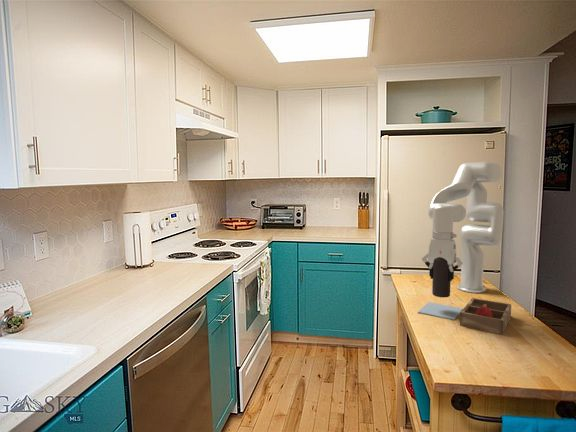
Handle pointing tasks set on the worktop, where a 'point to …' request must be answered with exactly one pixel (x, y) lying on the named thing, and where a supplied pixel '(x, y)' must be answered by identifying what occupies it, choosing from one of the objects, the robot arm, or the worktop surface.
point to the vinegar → (441, 278)
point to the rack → (483, 322)
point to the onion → (484, 311)
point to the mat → (441, 310)
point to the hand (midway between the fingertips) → (441, 279)
